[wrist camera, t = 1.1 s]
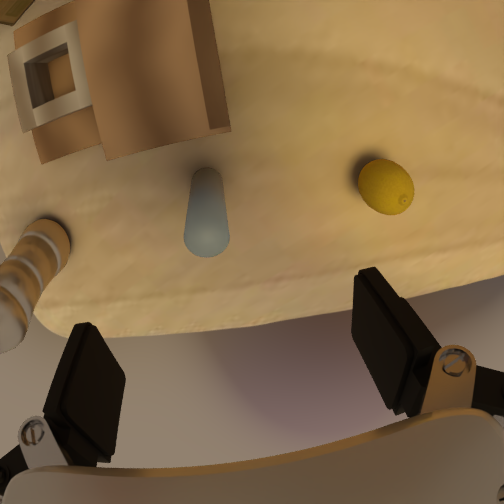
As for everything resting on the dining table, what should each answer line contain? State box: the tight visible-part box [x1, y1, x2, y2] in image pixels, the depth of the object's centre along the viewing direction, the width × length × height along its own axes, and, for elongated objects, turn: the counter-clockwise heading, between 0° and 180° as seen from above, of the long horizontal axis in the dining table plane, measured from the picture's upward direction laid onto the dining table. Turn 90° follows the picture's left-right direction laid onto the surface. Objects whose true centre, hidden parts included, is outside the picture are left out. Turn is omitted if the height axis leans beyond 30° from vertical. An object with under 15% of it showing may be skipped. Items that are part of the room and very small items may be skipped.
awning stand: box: [7, 0, 231, 165], centre depth 20 cm, size 20×17×10 cm
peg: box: [184, 168, 230, 257], centre depth 27 cm, size 3×3×12 cm
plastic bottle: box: [0, 219, 70, 354], centre depth 24 cm, size 6×7×20 cm
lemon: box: [358, 159, 414, 215], centre depth 30 cm, size 6×6×8 cm
